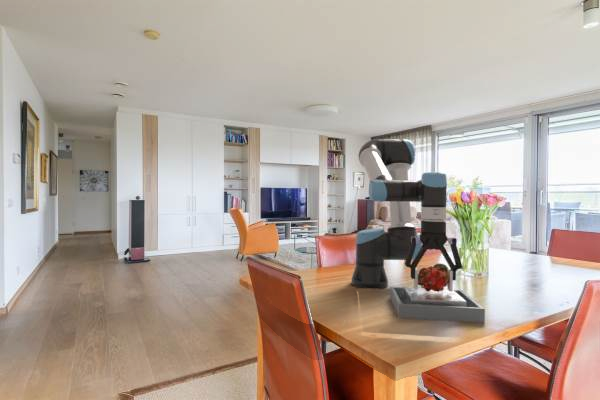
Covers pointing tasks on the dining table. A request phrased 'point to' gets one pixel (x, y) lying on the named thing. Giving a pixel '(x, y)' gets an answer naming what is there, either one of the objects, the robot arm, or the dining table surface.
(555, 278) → the dining table surface
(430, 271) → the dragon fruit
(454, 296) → the metal tin
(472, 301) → the tray
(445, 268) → the avocado
